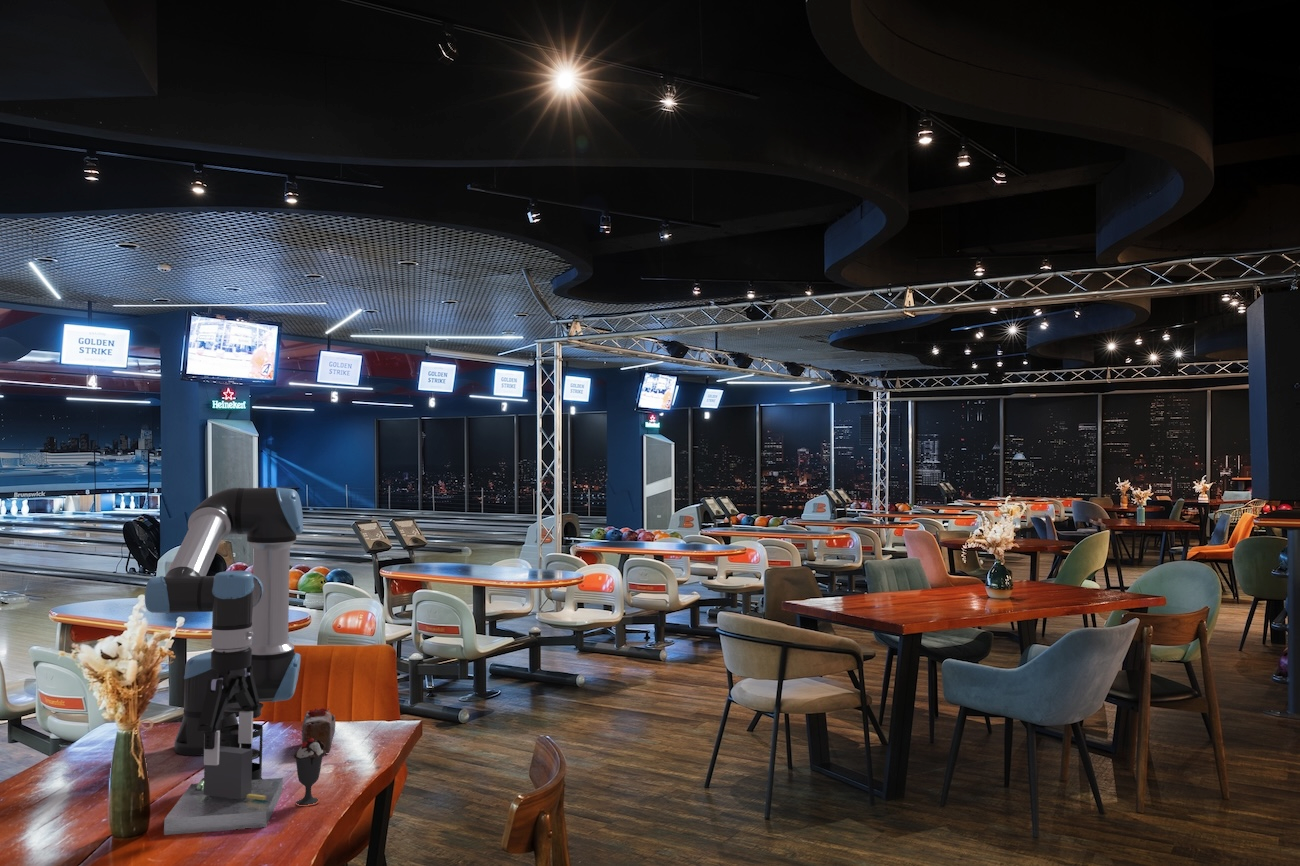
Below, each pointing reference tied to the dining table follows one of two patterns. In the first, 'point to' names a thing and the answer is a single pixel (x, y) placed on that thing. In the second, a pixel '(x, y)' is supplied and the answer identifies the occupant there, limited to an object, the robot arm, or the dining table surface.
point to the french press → (233, 738)
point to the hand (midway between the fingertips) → (228, 753)
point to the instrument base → (222, 809)
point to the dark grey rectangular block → (231, 775)
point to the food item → (319, 727)
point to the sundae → (309, 766)
